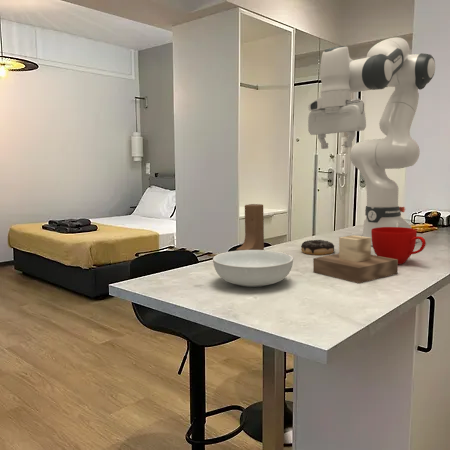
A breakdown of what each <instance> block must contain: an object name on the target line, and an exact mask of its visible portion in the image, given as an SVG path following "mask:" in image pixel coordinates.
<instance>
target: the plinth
mask: <svg viewBox="0 0 450 450" xmlns="http://www.w3.org/2000/svg"><path fill="white" fill-rule="evenodd" d="M312 259H313V260H312V261H313V262H312V263H313V264H312V266H313V272H312V273H314V274H319V275H324V276H328V277H331V278H335V279H339V280H344V281H347V282H352V283H355V284H362V283H367V282H370V281H375V280H379V279H383V278H387V277H390V276H393V275H398V271H399V267H398V266H399V264H398V259H392V258H387V257H381V256H377V255H376V254H375V255H374V254H371V259H369V260H364V261H359V262H353V261H348V260H343V259H339V253H335V254H328V255H322V256H319V257H313V258H312Z"/></svg>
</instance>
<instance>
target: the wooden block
mask: <svg viewBox="0 0 450 450" xmlns="http://www.w3.org/2000/svg"><path fill="white" fill-rule="evenodd" d="M264 218H265V217H264V204H260V203H257V204H256V203H251V204H245V205H244V232H245V233H244V241H243V243H242V244H241V246H239V247H237V248H236V251H240V250H265V238H264V237H265V235H264V233H265V232H264V230H265V229H264Z"/></svg>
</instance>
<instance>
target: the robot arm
mask: <svg viewBox="0 0 450 450" xmlns="http://www.w3.org/2000/svg"><path fill="white" fill-rule="evenodd" d="M410 51H411V50H410V45H409V42H408V41H407V40H406V39H404V38H402V37H389V38H386V39H383V40H382V41H379V42H378V43H376V44H374V45H373V46H372V47H371V48H370V49H369V51H367V54H366V57H361V58H359V59H352V58H351V57H350V52H349V47H348V46H347V45H339V46H334V47H330V48H326V49H325V50H324V51H322V54H321V59H320V71H319V72H320V73H319V74H320V75H319V76H320V81H321V89H320V96H319V97H317V98H316V99H315V100H313V101H312V102H311V103H309V104H308V111H309V114H308V118H307V120H308V121H307V122H308V124H307V126H308V127H307V128H308V133H309V135H311V136H316V135H317V139H318V141H319V143H320V148H321V149H322V150H326V149H329V143H328V142H326V139H325V138H327V137H326V136H327V134H328V135H330V134H340V133H342V134H343V133H346V136H347V139H346V141H344V142H343V143H344V145H343V146H344V148H351V149H350V151H349V152H350V153H349V158H350V162H351V164H352V165H353V166H354V167H355V168H356V169H357V170H358V171H359V173H361V175H362V177H363V180H364V183H365V187H366V206H365V210H364V212H365V214H364V215H365V216H366V217H365V219H364V222H363V228H362V236H363V237H370V238H371V247H373V245H372V235H371V230H372V229H373V228H379V227H403V228H411V229H413V228H412V226H411V224H409V223H408V221H406V220H405V219H404V218H403V217H402V214H401V213H405V211H406V207H405V206H399V186H398V184H397V183H396V181H394V180H392V179H391V178H390V177H388V175H387V173H386V169H387V170H388V169H389V170H391V169H392V170H393V169H394V170H396V169H398V170H399V169H400V170H401V169H404V168H409V167H412V166H414V165H415V164H416V163H417V162H418V160H419V157H420V154H421V153H420V146H419V144H418V142H417V141H416V140H415V139H414V138H412V137H411V133H410V131H411V126H412V123H413V120H414V118H415V115H416V112H417V107H418V103H419V99H420V95H419V94H420V93H419V90H420V91H421V90H423V89H424V88H425V87H426V85H428V84H429V83H430V82H431V81H432V79H433V77H434V76H435V71H436V60H435V58H434V57H433V56H432V54H429V53H419V54H418V53H417V54H415V53H414V54H413V53H412V54H410ZM390 87H392V88H393V87H394V90H393V92H392V93H391V95H390V97H389V99H388V100H387V103H386V104H385V107H384V108H383V109H384V110H383V112H382V115H381V117H380V120H379V123H378V125H379V130H380V131H381V132H382V134H383V135H385V137H384V138H375V139H366V140H362V141H359V142H355V143H354V144H353V142H354V141H353V140H354V139H355V137H356V132H361V131H364V130H365V129H366V128H367V119H366V112H365V102H364V101H363V100H362V99H361V98H354V99H351V96H352V93H358V92H367V91H374V90H375V91H376V90H384V89H385V88H390ZM419 241H420V239H416V243H419Z"/></svg>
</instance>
